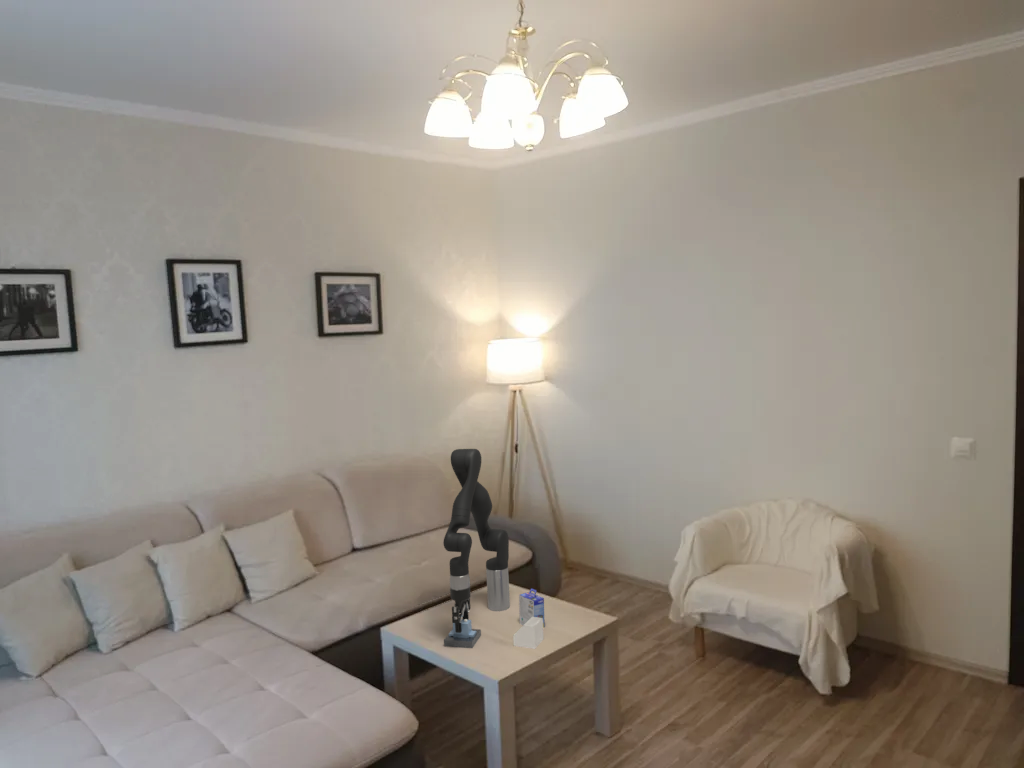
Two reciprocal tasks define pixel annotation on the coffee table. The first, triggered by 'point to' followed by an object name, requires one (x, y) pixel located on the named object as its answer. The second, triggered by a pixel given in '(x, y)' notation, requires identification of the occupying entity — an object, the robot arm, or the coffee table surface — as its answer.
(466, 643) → the tray
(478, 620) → the coffee table surface
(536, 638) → the white sloped wedge
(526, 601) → the ink cartridge box
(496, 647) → the coffee table surface
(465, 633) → the servo
